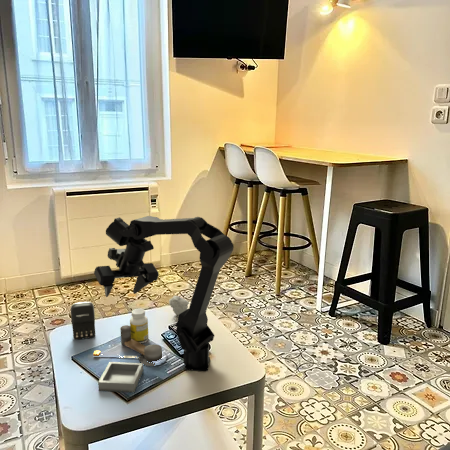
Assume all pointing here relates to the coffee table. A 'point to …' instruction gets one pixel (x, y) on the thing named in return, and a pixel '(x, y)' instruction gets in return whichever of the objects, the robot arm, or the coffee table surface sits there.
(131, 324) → the supplement bottle
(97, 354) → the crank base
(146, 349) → the crank
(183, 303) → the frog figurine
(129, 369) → the tray
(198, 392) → the coffee table surface
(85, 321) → the battery charger
